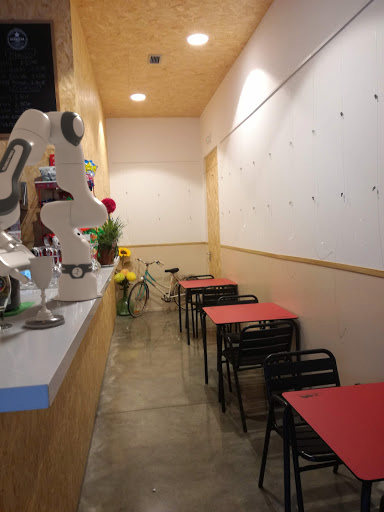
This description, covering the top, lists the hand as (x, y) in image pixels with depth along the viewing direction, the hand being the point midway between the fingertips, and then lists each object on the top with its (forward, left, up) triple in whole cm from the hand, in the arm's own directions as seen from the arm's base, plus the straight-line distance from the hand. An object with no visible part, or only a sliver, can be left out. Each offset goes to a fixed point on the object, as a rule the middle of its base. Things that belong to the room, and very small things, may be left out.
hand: (34, 279), depth 111 cm
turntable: (+1, +2, -13) cm, 13 cm away
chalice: (+1, +2, -12) cm, 12 cm away
